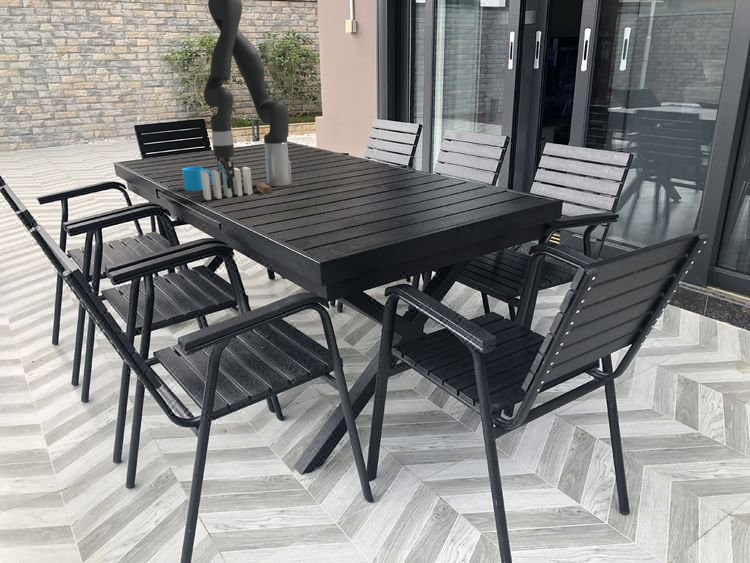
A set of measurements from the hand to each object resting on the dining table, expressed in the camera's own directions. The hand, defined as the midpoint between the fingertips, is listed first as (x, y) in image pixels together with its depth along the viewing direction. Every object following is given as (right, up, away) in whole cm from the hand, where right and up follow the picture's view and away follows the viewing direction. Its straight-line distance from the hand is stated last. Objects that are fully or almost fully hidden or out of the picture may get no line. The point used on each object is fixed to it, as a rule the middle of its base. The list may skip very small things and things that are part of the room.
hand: (227, 186), depth 234 cm
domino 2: (-3, -4, 0) cm, 5 cm away
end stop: (+13, -1, +8) cm, 15 cm away
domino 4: (+4, -3, +3) cm, 5 cm away
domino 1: (-7, -5, -2) cm, 9 cm away
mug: (-15, +2, +16) cm, 22 cm away
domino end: (+7, -2, +5) cm, 9 cm away
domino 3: (0, -4, +1) cm, 4 cm away
